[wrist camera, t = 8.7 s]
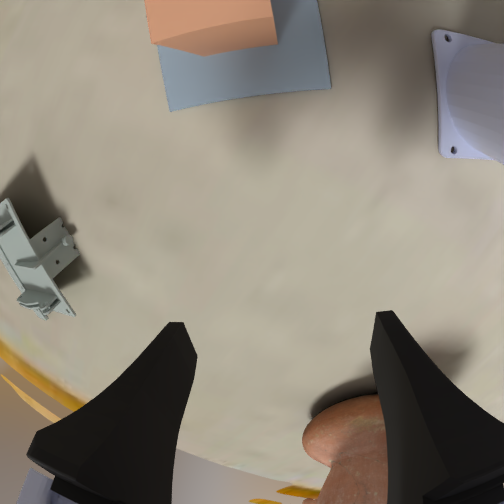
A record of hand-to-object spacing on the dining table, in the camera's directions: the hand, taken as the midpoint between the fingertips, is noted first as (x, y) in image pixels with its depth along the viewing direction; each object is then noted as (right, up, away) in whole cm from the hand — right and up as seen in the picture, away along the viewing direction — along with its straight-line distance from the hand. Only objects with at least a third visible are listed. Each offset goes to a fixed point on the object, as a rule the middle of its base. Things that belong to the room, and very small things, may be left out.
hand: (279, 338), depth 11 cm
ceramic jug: (+13, -16, +20) cm, 28 cm away
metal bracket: (-22, +4, +12) cm, 25 cm away
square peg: (-2, +16, +1) cm, 16 cm away
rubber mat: (-2, +15, +2) cm, 16 cm away
